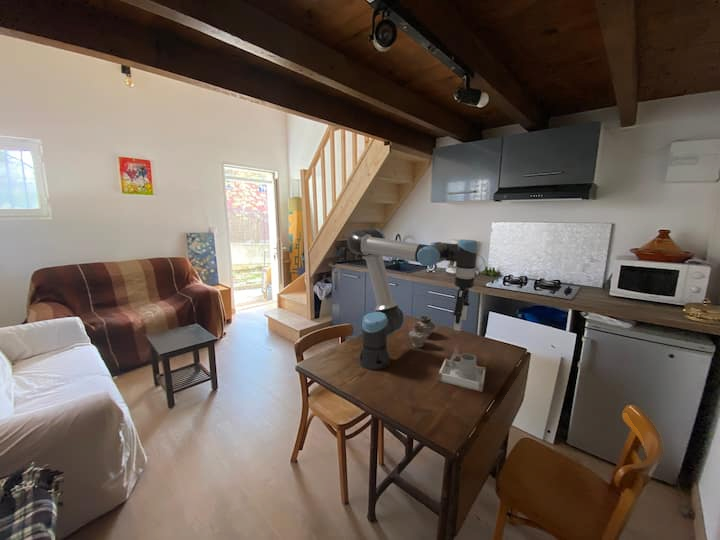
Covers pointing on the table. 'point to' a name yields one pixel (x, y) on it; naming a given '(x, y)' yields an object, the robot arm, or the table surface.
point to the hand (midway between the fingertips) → (460, 324)
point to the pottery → (421, 331)
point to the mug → (464, 365)
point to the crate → (452, 378)
